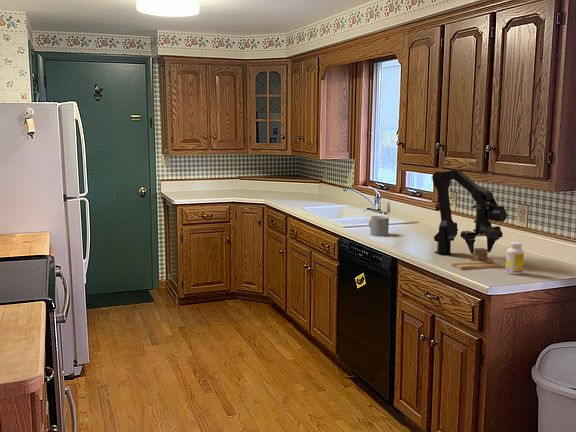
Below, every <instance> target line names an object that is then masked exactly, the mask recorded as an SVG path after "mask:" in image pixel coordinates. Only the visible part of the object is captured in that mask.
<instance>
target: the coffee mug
mask: <svg viewBox="0 0 576 432" xmlns="http://www.w3.org/2000/svg"><path fill="white" fill-rule="evenodd" d="M389 224H390V217H388V216H385V215H371V216H370V219H369V220H368V227H369V229H370V232H369V235H370V236H372V237H378V236H379V237H382V236H384V237H388V236H389V230H390V229H389V226H390V225H389Z"/></svg>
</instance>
